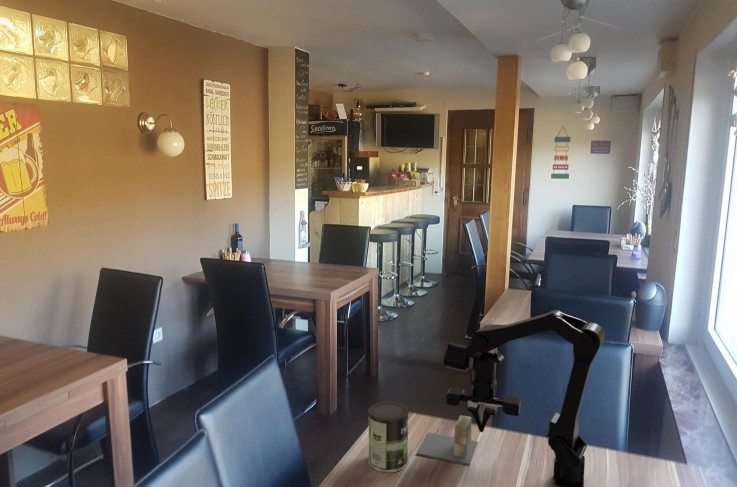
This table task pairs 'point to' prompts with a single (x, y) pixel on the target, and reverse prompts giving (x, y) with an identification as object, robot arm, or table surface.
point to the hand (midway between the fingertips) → (481, 431)
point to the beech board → (462, 436)
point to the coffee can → (388, 436)
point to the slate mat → (444, 449)
